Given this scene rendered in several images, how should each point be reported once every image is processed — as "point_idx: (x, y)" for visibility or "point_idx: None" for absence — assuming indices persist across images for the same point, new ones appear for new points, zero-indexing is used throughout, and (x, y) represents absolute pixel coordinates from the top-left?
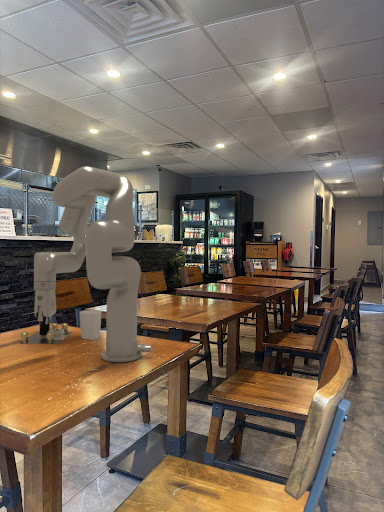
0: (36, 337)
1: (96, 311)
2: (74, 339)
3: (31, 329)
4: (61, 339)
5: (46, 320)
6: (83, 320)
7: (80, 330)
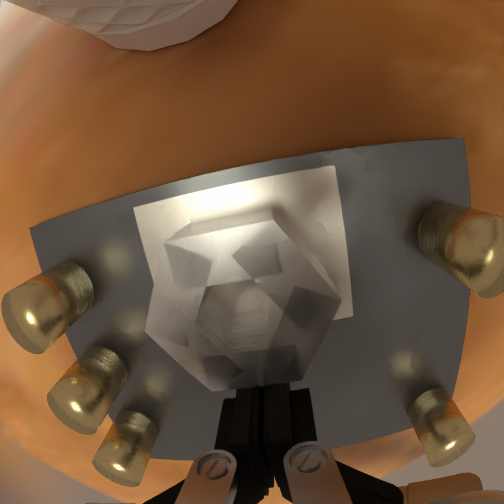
0: None
1: None
2: (230, 83)
3: (99, 476)
4: (333, 177)
5: (348, 490)
6: None
7: (178, 2)
